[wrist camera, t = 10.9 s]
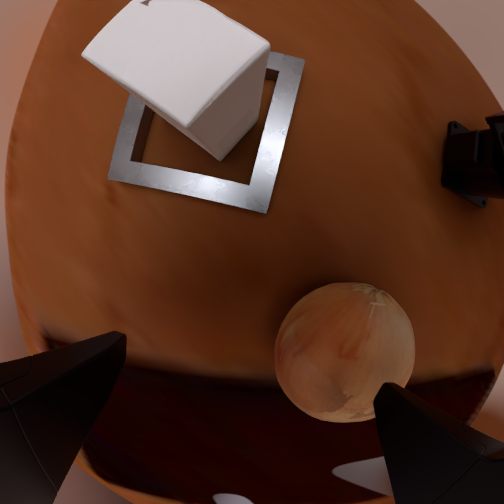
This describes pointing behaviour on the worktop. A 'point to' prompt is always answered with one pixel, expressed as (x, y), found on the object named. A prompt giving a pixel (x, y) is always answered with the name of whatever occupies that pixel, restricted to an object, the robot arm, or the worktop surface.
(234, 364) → the worktop surface
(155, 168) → the silver metal square frame
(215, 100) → the skincare box
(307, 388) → the onion
